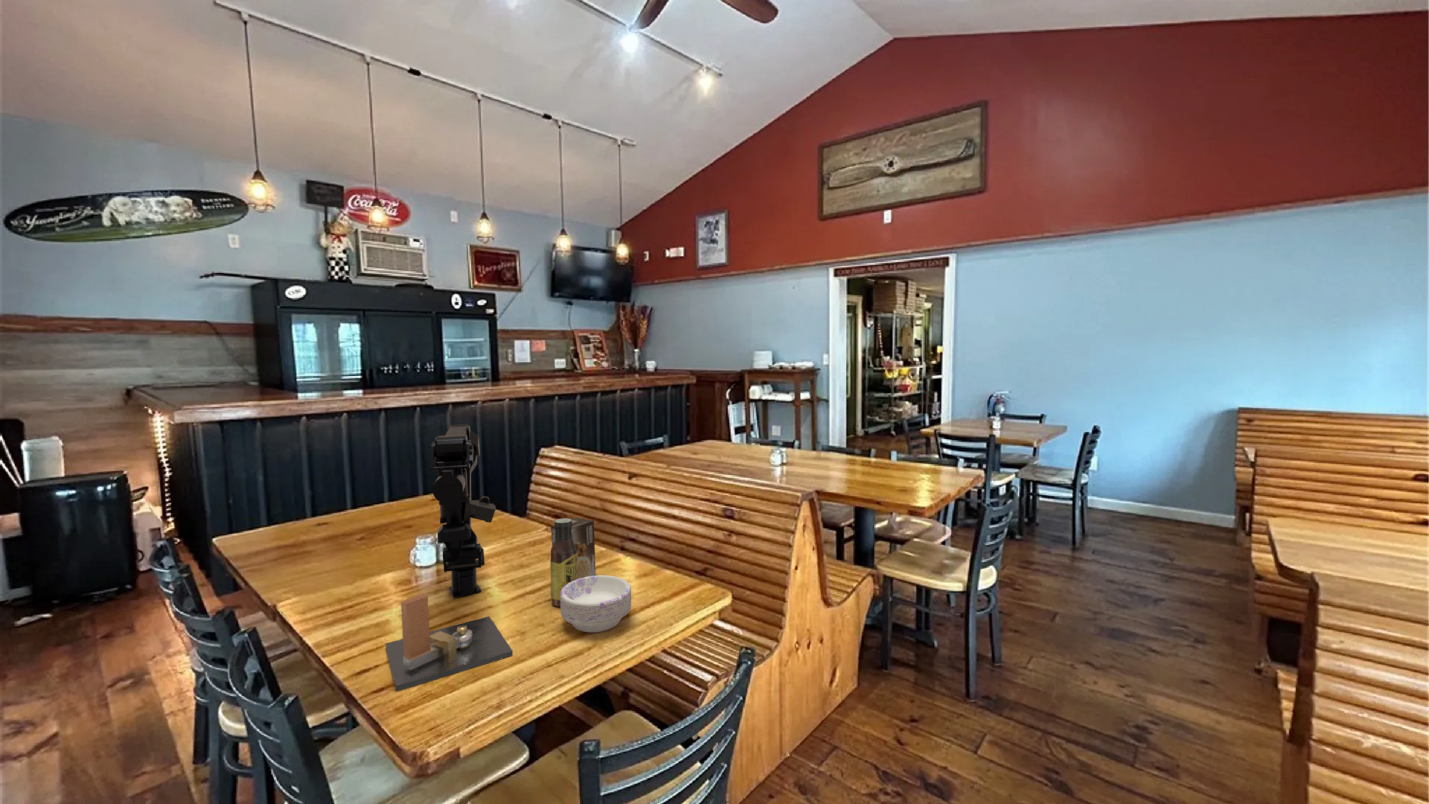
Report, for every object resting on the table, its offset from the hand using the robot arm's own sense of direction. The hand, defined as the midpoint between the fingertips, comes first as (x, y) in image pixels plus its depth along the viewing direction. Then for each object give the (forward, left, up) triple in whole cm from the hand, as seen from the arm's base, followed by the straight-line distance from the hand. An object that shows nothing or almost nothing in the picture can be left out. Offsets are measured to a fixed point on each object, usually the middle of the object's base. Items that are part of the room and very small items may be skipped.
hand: (456, 560), depth 126 cm
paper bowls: (+21, +24, -13) cm, 34 cm away
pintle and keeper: (+18, -5, -13) cm, 22 cm away
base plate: (+15, -5, -13) cm, 20 cm away
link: (+18, -7, -11) cm, 22 cm away
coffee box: (-2, +28, -13) cm, 31 cm away
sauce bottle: (+7, +22, -13) cm, 27 cm away
